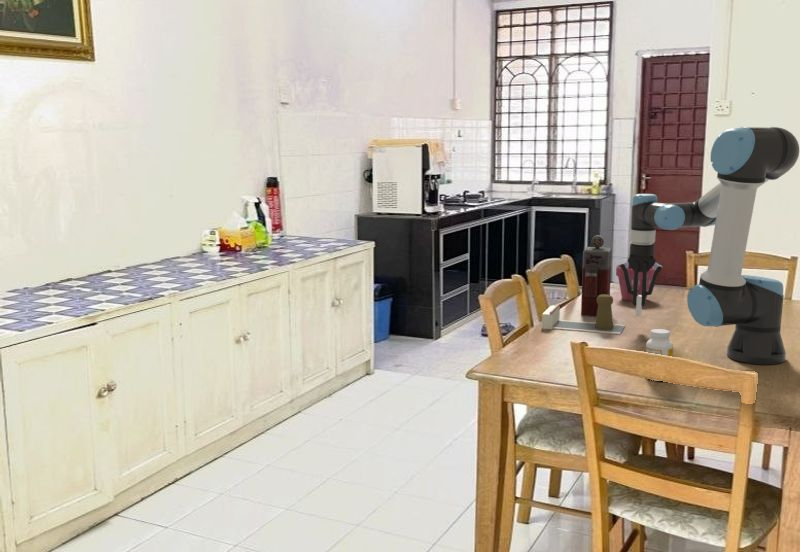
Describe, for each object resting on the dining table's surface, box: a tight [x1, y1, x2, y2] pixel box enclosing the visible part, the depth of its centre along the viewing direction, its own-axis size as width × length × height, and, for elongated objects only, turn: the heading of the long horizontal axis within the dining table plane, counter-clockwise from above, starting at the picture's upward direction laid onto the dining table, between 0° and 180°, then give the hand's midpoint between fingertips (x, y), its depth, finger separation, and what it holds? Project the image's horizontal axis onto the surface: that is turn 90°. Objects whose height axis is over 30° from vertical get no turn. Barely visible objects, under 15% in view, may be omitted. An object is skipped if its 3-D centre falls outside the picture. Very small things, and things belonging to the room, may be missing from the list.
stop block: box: [541, 303, 561, 330], centre depth 265 cm, size 14×3×6 cm, turn 158°
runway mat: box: [551, 319, 626, 335], centre depth 261 cm, size 12×22×1 cm, turn 68°
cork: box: [594, 294, 614, 330], centre depth 258 cm, size 6×6×11 cm
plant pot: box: [615, 264, 655, 302], centre depth 304 cm, size 14×14×13 cm
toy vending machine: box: [580, 234, 613, 318], centre depth 277 cm, size 9×11×28 cm
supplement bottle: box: [645, 328, 674, 382], centre depth 205 cm, size 7×7×13 cm
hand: (638, 315), depth 255 cm, fingers closed
